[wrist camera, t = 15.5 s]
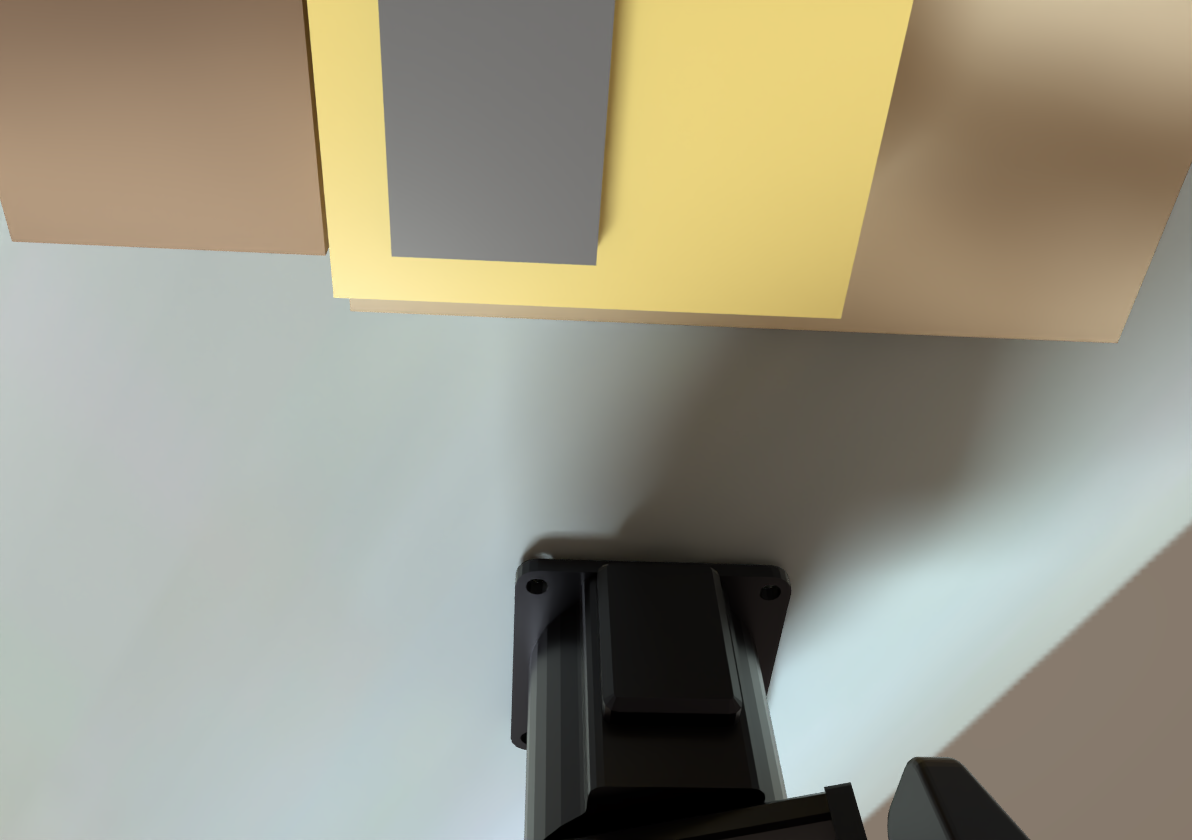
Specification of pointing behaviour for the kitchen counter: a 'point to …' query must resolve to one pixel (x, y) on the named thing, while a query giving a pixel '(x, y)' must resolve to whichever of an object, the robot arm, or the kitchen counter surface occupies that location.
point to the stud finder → (602, 149)
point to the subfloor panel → (999, 177)
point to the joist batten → (161, 125)
